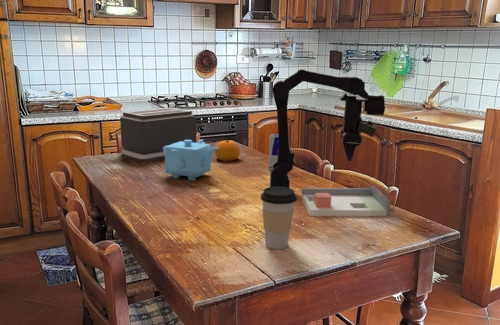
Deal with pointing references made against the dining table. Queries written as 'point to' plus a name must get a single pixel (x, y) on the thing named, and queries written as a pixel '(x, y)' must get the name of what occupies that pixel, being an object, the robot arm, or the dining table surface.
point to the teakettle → (188, 159)
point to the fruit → (227, 150)
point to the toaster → (155, 131)
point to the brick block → (322, 200)
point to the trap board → (348, 202)
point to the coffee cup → (277, 215)
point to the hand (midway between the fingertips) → (348, 158)
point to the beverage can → (273, 149)
